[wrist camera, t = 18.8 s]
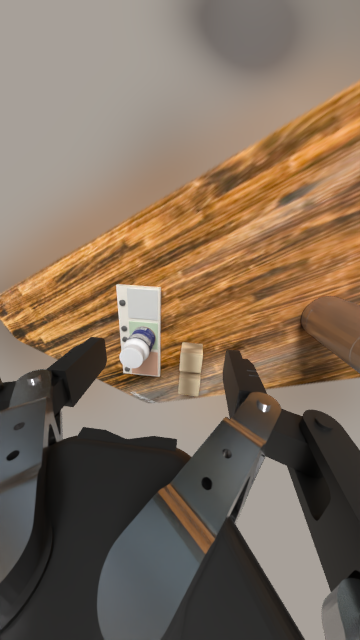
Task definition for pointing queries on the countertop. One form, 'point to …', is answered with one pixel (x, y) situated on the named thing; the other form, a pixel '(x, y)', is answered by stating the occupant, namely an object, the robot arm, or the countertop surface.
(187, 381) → the maple block
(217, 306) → the countertop surface
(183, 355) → the maple block
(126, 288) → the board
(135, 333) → the pill bottle
